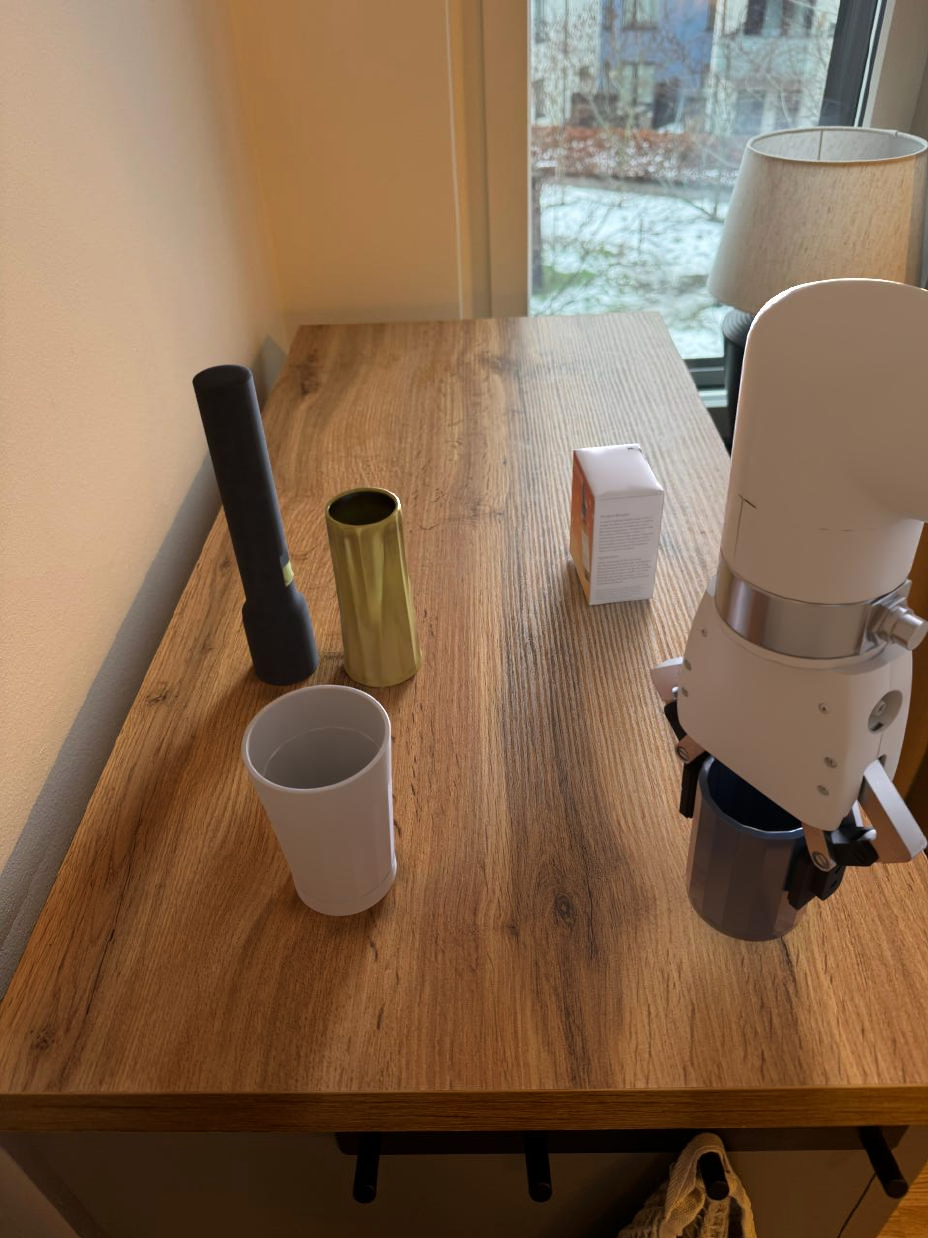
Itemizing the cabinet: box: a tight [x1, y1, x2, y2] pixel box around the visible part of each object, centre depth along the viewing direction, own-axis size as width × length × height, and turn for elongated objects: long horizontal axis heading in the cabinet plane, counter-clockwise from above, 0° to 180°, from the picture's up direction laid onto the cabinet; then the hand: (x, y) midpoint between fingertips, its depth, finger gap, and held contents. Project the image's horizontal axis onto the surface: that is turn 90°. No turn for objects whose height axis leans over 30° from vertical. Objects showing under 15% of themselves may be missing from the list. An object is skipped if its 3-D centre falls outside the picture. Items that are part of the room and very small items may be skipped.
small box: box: [568, 443, 666, 606], centre depth 76 cm, size 8×6×10 cm
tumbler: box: [684, 755, 809, 943], centre depth 50 cm, size 7×7×9 cm
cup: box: [240, 684, 398, 917], centre depth 53 cm, size 8×8×12 cm
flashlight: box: [191, 363, 320, 687], centre depth 64 cm, size 5×24×5 cm
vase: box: [324, 486, 423, 688], centre depth 67 cm, size 6×6×14 cm
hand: (754, 844), depth 50 cm, fingers closed on tumbler, 6 cm apart
